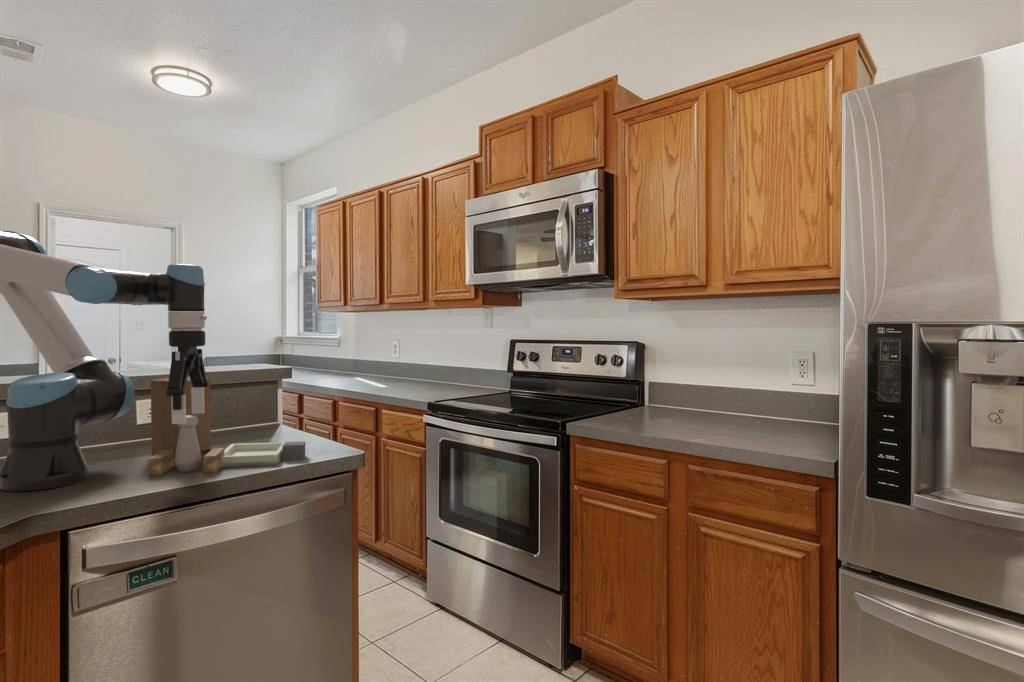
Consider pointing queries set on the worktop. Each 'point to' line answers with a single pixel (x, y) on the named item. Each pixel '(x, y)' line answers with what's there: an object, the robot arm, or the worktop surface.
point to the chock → (293, 450)
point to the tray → (252, 454)
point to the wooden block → (161, 417)
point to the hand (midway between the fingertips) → (189, 418)
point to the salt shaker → (188, 446)
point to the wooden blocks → (165, 461)
